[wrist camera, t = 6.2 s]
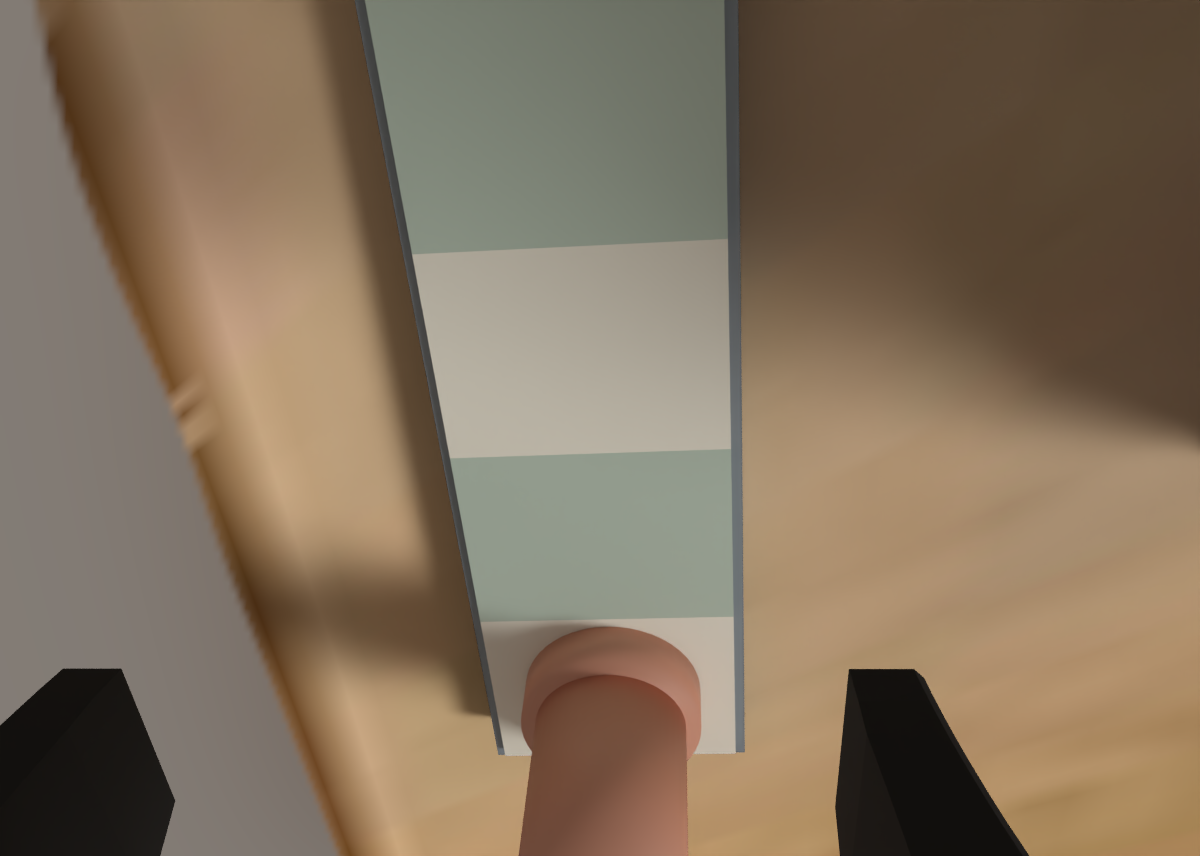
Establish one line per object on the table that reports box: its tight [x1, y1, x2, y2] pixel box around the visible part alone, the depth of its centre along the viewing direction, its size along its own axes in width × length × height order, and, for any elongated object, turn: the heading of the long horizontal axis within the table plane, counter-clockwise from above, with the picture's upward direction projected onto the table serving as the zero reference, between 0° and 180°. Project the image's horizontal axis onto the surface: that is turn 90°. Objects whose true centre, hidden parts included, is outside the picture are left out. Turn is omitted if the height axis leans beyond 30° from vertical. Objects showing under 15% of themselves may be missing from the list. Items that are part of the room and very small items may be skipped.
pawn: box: [519, 627, 701, 856], centre depth 20 cm, size 4×4×7 cm
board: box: [355, 0, 745, 756], centre depth 18 cm, size 24×5×1 cm, turn 5°
